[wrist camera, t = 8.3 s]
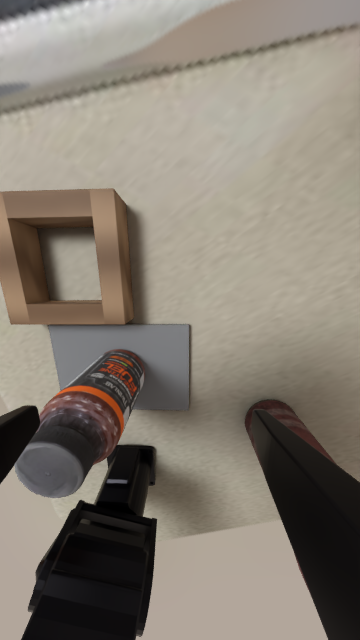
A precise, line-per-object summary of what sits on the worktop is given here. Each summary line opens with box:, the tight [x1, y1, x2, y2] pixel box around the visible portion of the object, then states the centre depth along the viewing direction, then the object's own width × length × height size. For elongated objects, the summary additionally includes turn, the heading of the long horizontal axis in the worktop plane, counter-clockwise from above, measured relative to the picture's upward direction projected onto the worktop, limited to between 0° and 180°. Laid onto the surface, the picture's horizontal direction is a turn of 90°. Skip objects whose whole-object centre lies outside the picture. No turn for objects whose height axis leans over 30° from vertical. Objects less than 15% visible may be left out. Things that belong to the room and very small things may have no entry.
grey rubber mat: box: [48, 324, 189, 410], centre depth 21 cm, size 11×16×1 cm
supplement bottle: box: [14, 349, 145, 498], centre depth 15 cm, size 6×6×11 cm
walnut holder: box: [0, 188, 134, 324], centre depth 17 cm, size 12×12×3 cm
